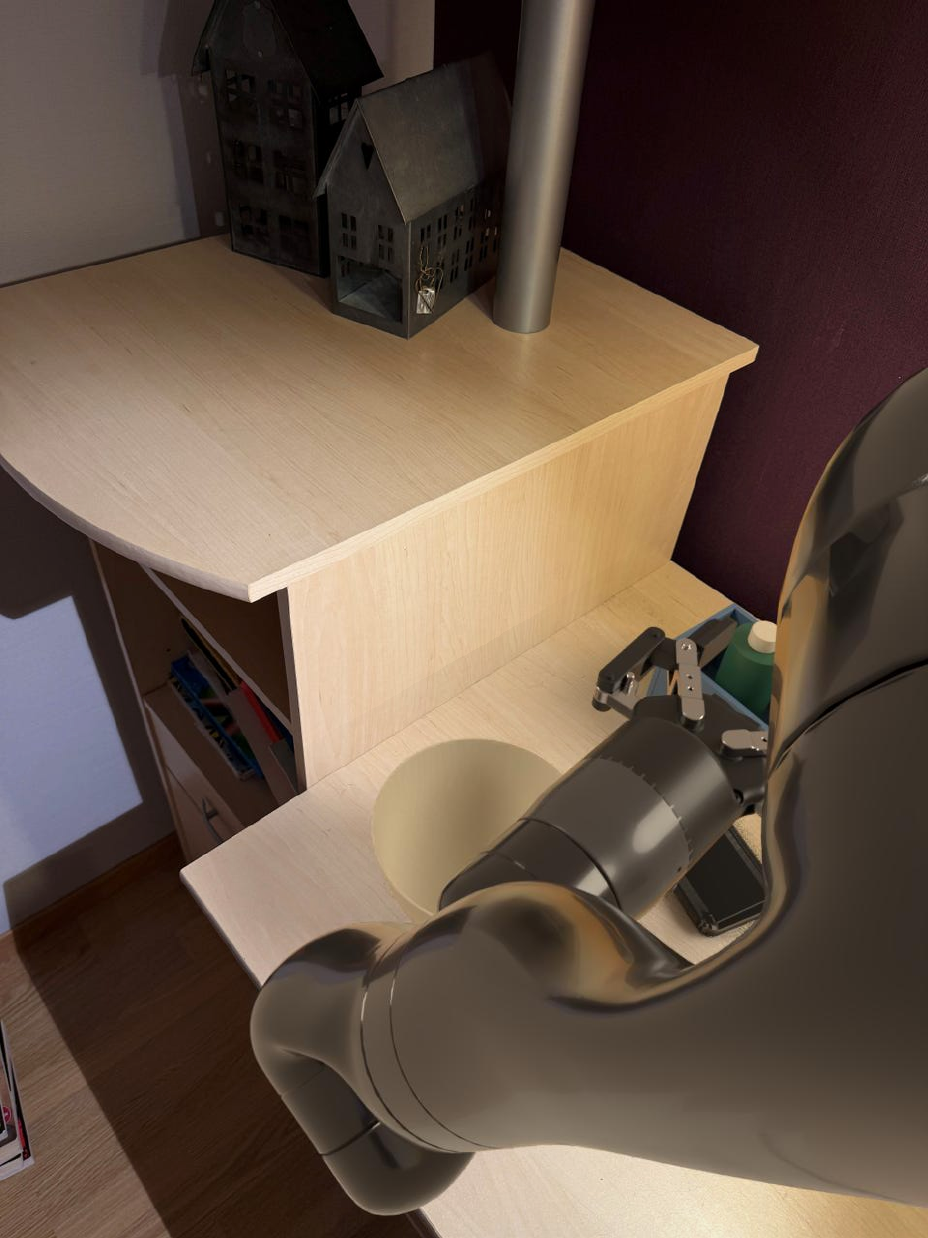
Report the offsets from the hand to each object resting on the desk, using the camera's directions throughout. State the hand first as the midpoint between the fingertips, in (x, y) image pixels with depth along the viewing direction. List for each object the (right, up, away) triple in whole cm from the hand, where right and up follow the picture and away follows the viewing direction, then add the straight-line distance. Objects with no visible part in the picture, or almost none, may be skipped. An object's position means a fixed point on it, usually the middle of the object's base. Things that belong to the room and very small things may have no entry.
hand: (789, 667), depth 54 cm
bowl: (-19, -19, +19) cm, 33 cm away
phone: (0, -17, +23) cm, 29 cm away
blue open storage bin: (+6, -7, +33) cm, 34 cm away
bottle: (+6, -7, +33) cm, 34 cm away
